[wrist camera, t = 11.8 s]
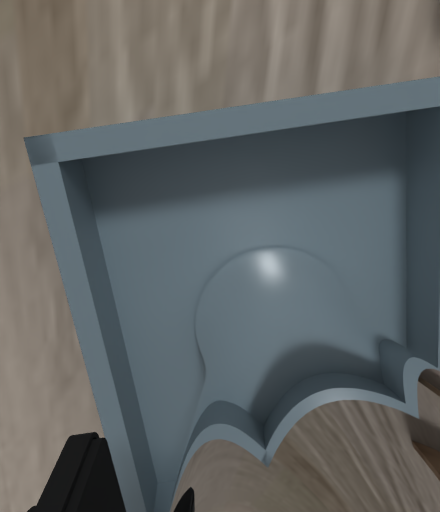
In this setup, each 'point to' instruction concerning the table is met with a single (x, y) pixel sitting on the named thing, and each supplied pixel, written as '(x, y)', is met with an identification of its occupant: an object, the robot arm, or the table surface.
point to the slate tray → (233, 240)
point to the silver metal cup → (304, 399)
